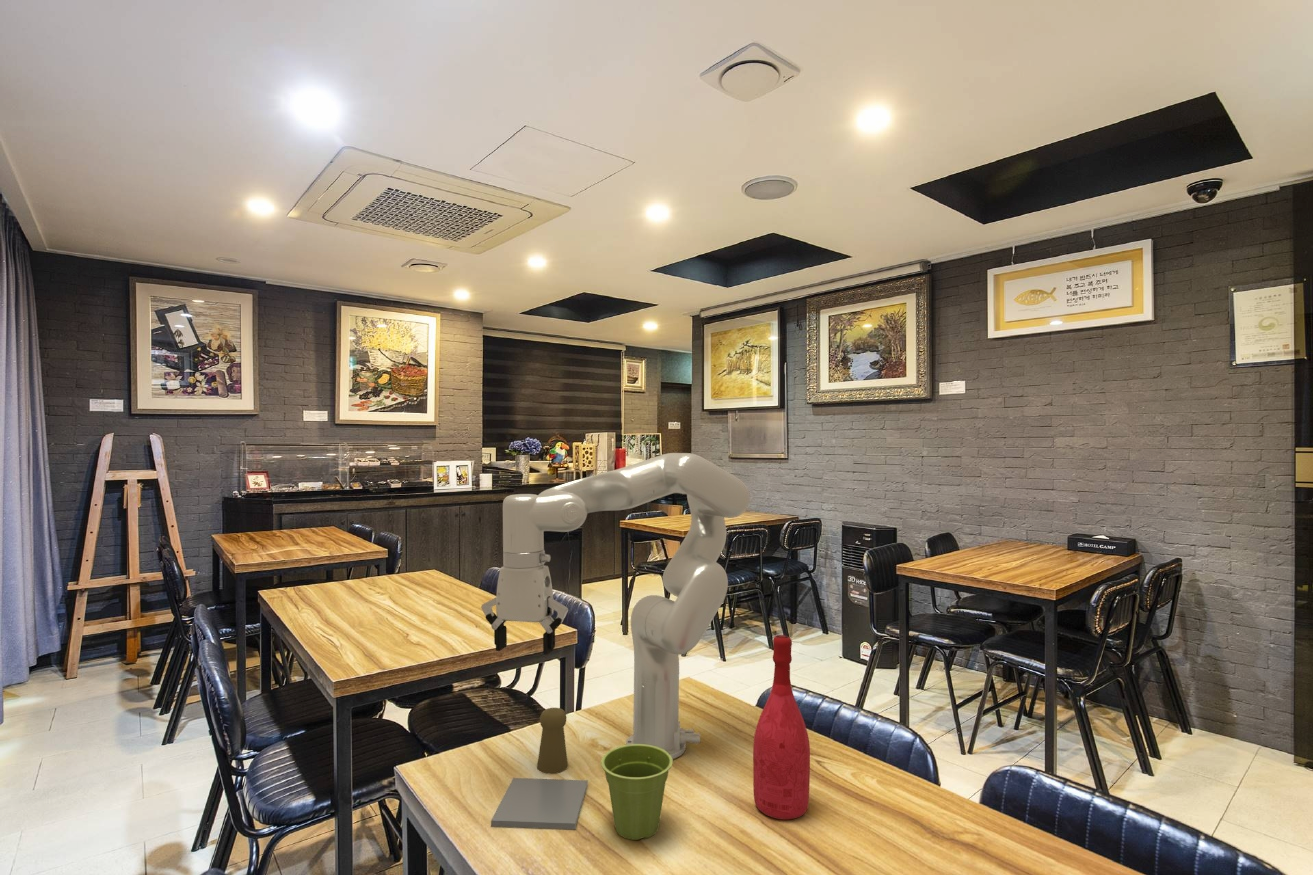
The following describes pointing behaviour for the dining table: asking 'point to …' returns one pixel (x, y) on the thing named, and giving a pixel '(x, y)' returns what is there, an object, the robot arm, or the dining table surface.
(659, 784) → the plant pot
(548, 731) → the brown pawn
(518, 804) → the tile
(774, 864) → the dining table surface
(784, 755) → the wine bottle
